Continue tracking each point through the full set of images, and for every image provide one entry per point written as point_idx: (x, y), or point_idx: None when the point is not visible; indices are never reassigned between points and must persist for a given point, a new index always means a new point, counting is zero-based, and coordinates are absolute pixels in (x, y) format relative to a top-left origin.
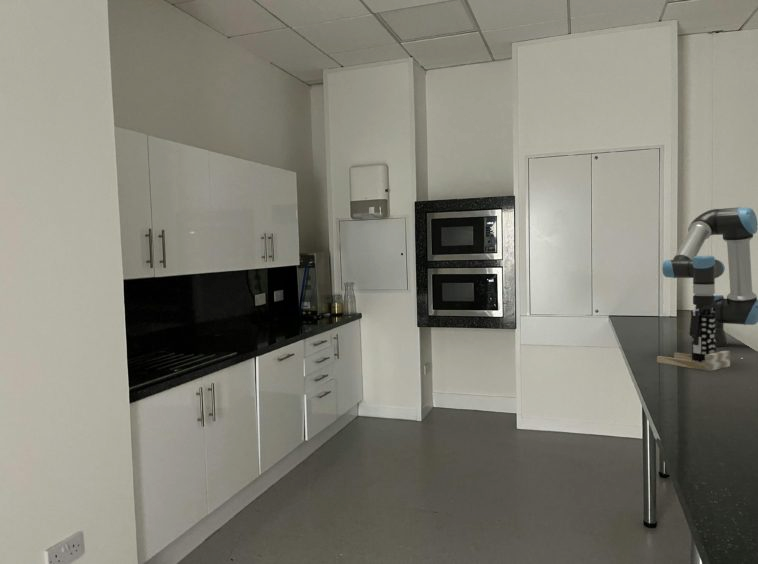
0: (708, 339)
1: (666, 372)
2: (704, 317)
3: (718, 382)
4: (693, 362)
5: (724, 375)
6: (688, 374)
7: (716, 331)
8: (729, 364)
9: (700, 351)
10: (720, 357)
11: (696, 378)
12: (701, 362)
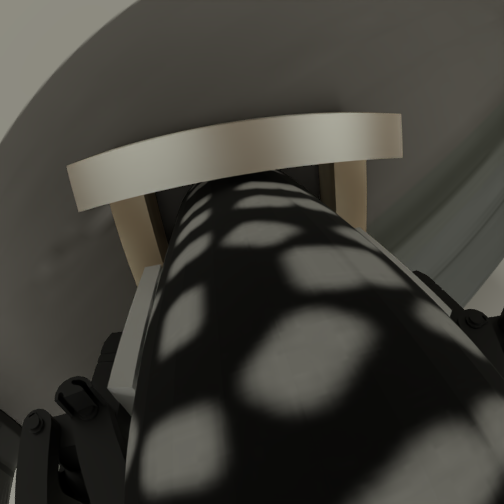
0: (379, 253)
1: (473, 214)
2: None
3: (467, 7)
4: (365, 221)
5: (369, 16)
6: (460, 139)
7: (46, 417)
8: (114, 148)
9: (363, 234)
10: (231, 122)
11: (482, 84)
12: (344, 187)
